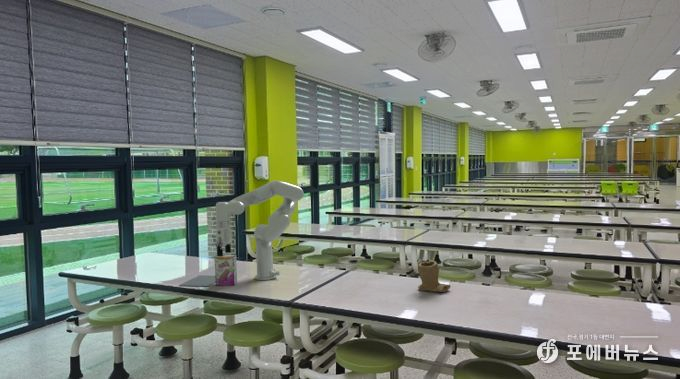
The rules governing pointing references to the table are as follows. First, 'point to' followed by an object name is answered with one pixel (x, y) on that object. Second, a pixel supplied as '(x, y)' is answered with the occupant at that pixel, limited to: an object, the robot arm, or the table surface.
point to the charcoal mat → (200, 281)
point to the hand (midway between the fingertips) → (224, 254)
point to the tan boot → (430, 277)
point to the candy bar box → (225, 270)
